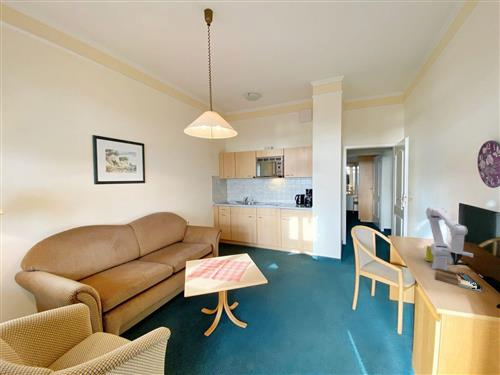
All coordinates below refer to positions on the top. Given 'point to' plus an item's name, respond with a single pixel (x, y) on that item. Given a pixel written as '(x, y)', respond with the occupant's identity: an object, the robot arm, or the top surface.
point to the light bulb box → (450, 259)
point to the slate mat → (470, 288)
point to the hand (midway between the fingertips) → (455, 264)
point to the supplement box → (429, 255)
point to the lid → (465, 283)
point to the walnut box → (446, 276)
